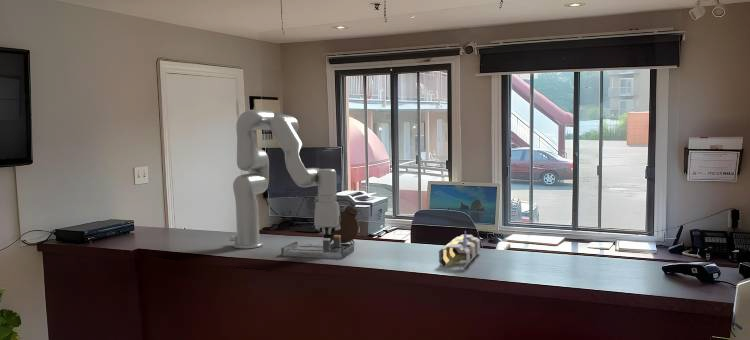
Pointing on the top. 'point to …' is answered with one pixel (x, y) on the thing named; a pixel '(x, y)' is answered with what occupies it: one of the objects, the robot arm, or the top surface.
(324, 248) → the fader cap
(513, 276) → the top surface
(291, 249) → the console
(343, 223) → the alarm clock
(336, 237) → the fader cap
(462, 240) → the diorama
